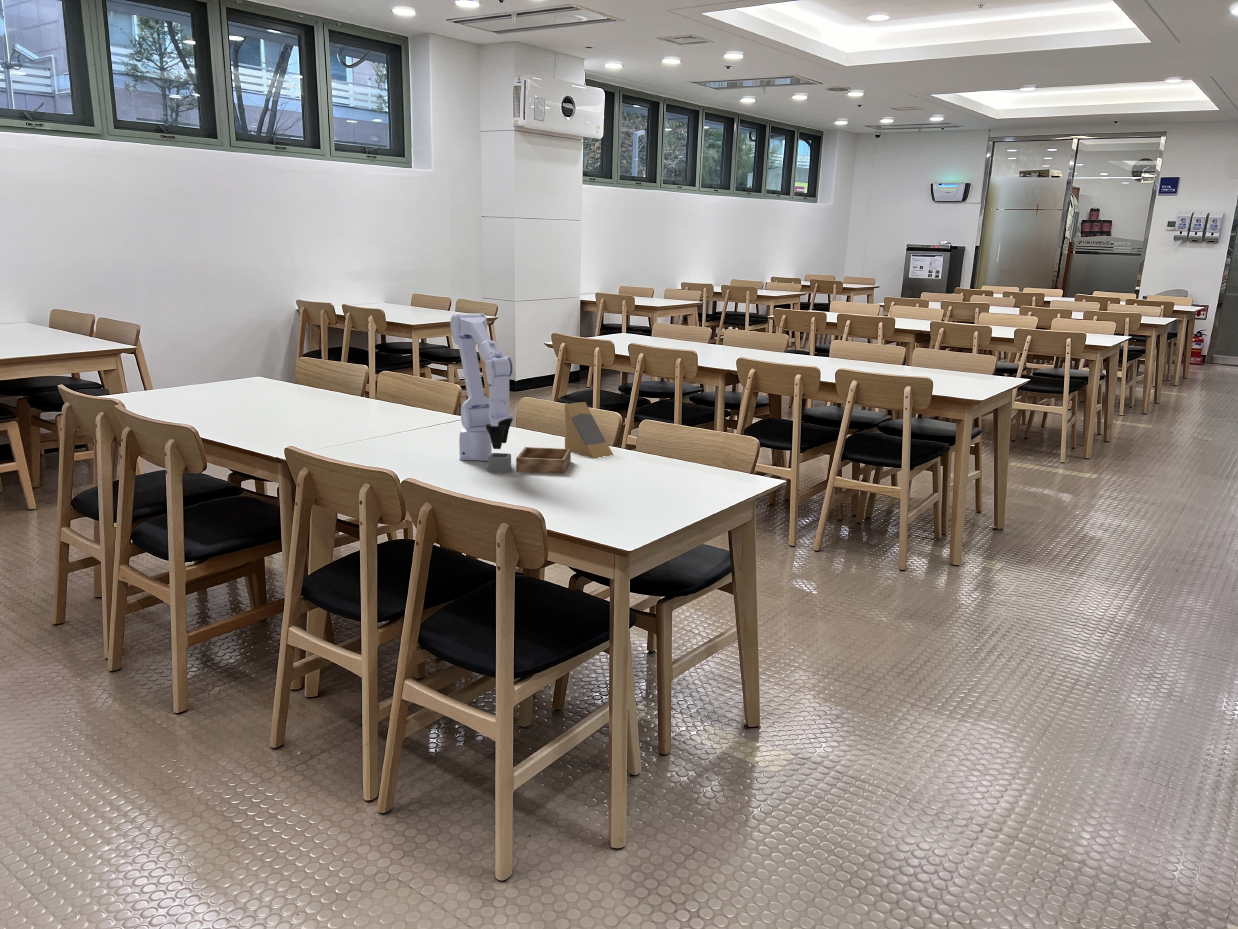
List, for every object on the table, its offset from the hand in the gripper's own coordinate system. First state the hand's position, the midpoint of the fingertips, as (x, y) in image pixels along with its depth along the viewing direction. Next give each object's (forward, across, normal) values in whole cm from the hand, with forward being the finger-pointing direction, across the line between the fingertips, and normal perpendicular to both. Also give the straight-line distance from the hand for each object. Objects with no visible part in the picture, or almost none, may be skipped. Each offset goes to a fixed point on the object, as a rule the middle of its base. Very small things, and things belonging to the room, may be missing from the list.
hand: (499, 445), depth 251 cm
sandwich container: (+8, +26, -23) cm, 36 cm away
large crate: (+7, +6, -12) cm, 15 cm away
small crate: (+7, 0, 0) cm, 7 cm away
